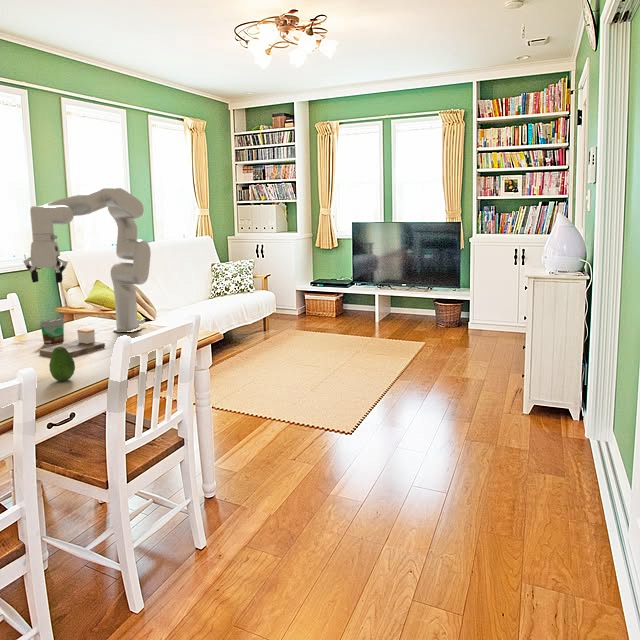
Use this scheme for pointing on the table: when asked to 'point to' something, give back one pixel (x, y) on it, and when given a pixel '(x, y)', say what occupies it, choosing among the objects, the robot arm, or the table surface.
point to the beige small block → (86, 335)
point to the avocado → (61, 364)
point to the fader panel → (74, 348)
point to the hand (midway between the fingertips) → (47, 282)
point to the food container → (53, 331)
